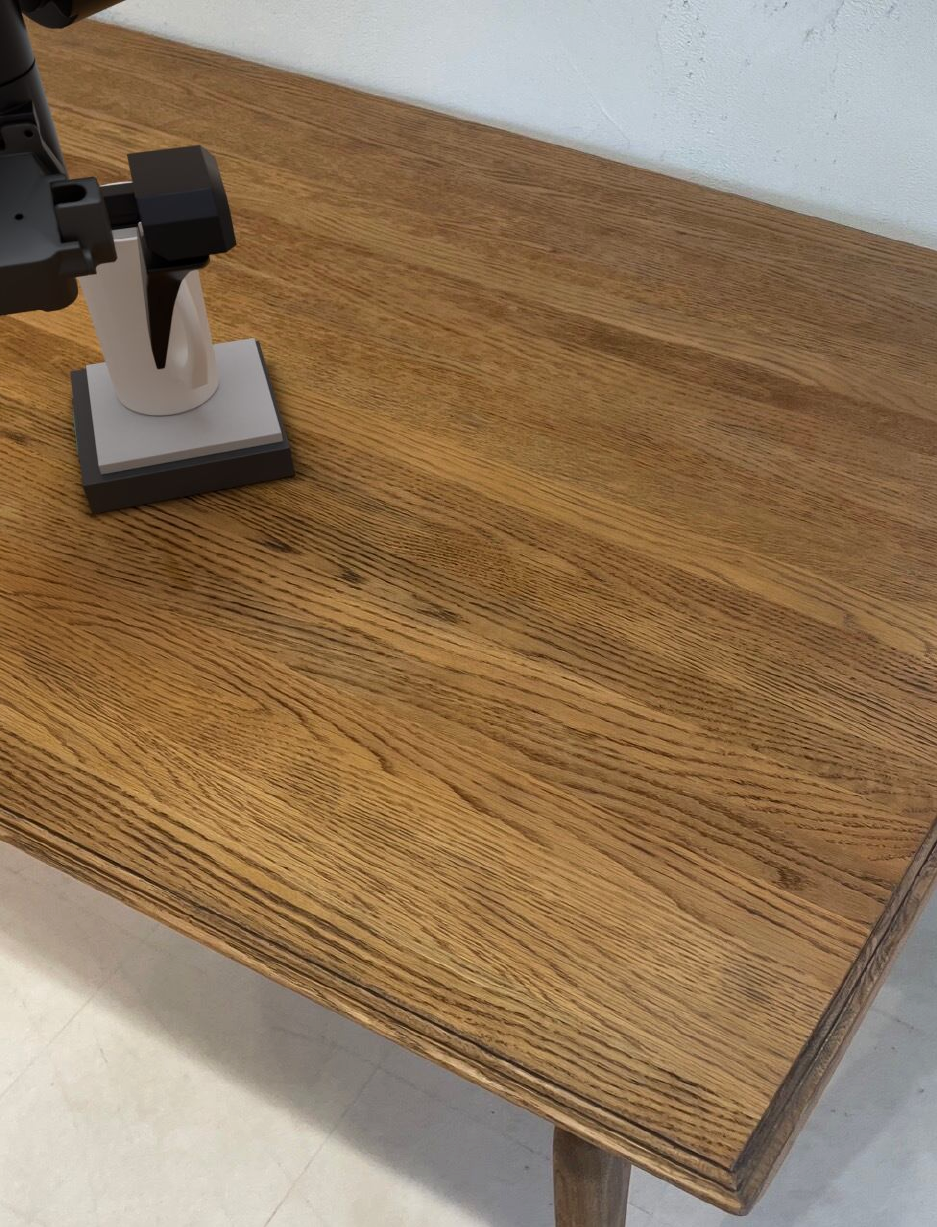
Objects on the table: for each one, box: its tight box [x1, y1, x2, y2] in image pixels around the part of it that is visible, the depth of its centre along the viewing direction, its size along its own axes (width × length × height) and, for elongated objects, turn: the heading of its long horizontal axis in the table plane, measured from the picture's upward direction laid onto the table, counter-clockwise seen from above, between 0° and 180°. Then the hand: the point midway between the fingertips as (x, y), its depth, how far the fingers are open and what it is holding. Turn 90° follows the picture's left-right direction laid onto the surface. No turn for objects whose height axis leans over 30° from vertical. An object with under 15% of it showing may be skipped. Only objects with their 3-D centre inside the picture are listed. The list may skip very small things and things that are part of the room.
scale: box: [69, 337, 296, 515], centre depth 81 cm, size 12×12×3 cm
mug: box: [77, 181, 219, 415], centre depth 76 cm, size 10×7×12 cm, turn 41°
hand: (64, 380), depth 64 cm, fingers open, 9 cm apart
